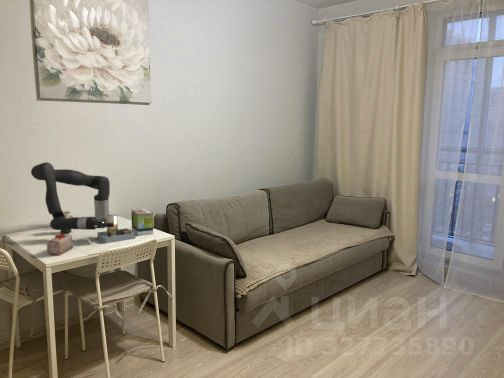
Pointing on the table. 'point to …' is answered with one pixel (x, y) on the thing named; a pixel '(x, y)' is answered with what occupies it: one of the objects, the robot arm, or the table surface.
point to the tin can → (113, 230)
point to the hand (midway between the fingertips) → (115, 223)
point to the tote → (115, 237)
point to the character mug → (67, 215)
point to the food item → (60, 244)
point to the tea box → (142, 222)
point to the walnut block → (125, 231)
